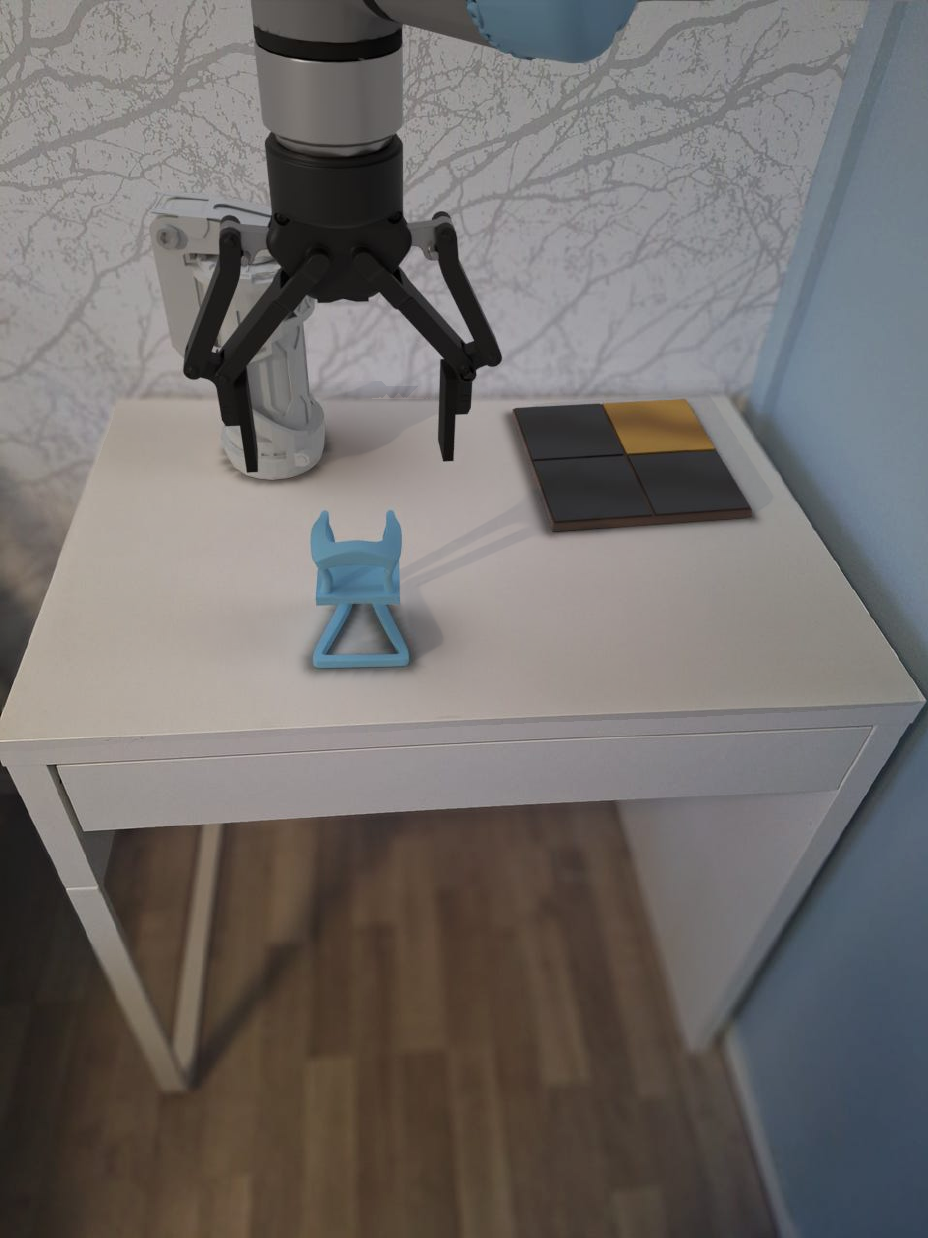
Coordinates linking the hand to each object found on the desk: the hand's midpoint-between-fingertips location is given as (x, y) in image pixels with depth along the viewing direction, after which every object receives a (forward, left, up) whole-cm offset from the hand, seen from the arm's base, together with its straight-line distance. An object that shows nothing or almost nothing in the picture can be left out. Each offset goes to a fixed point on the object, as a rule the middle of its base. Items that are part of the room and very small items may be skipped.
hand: (350, 456), depth 65 cm
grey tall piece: (+27, +8, -18) cm, 33 cm away
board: (+21, -29, -18) cm, 40 cm away
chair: (0, 0, -18) cm, 18 cm away
